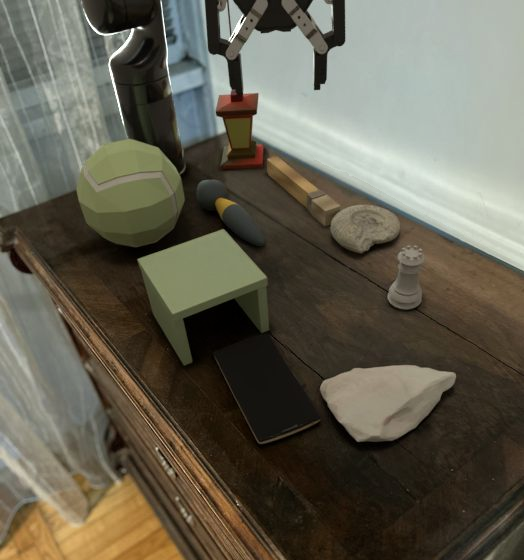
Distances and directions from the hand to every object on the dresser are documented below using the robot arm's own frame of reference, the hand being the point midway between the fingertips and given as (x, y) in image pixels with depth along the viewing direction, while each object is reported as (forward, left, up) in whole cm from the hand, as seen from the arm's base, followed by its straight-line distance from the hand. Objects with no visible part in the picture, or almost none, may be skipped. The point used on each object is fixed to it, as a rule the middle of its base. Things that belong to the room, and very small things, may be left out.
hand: (278, 90), depth 61 cm
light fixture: (-34, +10, -25) cm, 43 cm away
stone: (+27, -2, -25) cm, 37 cm away
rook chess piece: (+14, +10, -25) cm, 31 cm away
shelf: (+4, -14, -25) cm, 29 cm away
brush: (-17, +12, -25) cm, 33 cm away
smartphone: (+18, -13, -25) cm, 34 cm away
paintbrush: (-16, -1, -25) cm, 30 cm away
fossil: (-1, +14, -25) cm, 29 cm away
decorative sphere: (-20, -15, -25) cm, 36 cm away
